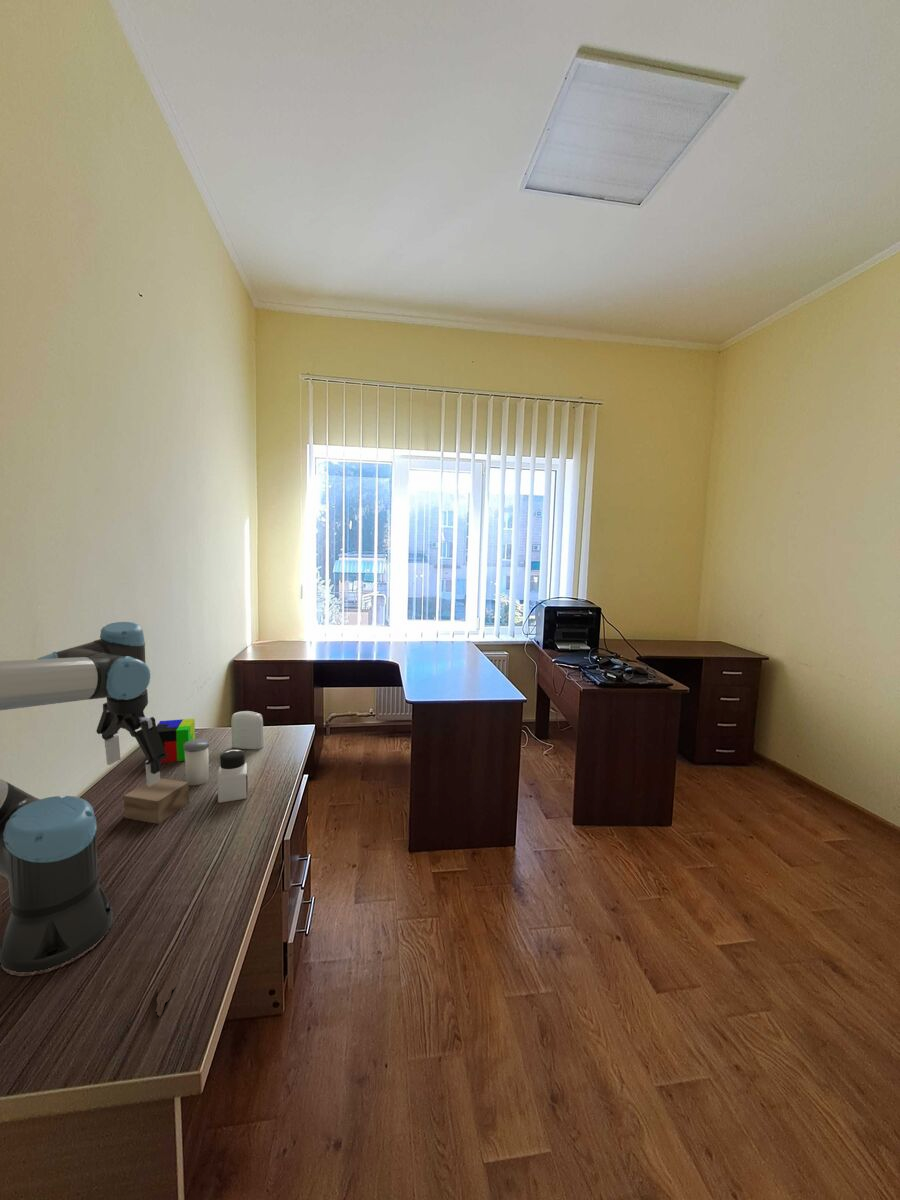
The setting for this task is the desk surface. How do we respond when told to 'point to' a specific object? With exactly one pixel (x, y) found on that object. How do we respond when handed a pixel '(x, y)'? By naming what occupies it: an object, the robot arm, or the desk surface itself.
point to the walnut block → (156, 800)
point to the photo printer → (247, 730)
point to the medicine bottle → (232, 776)
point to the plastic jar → (196, 761)
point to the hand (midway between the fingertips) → (133, 772)
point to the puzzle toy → (175, 737)
